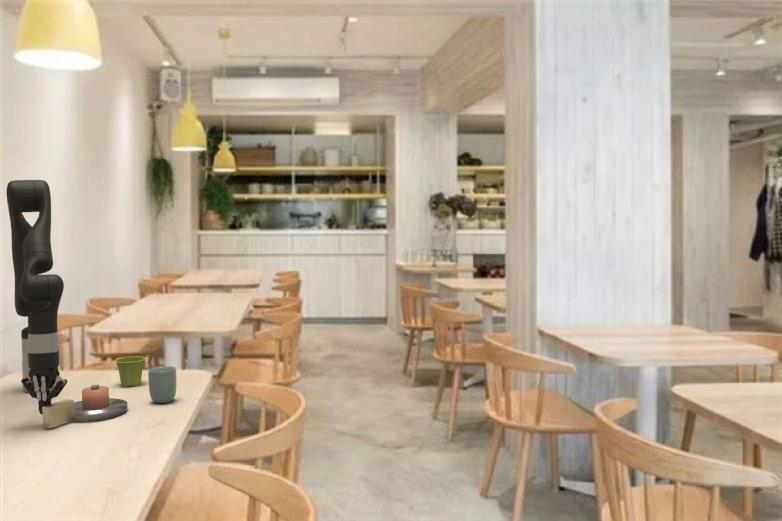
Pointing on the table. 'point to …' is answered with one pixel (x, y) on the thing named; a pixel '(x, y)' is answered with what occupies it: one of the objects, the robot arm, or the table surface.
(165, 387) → the cup
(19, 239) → the robot arm
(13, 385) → the table surface
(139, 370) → the plant pot
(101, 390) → the cap
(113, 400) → the platter
